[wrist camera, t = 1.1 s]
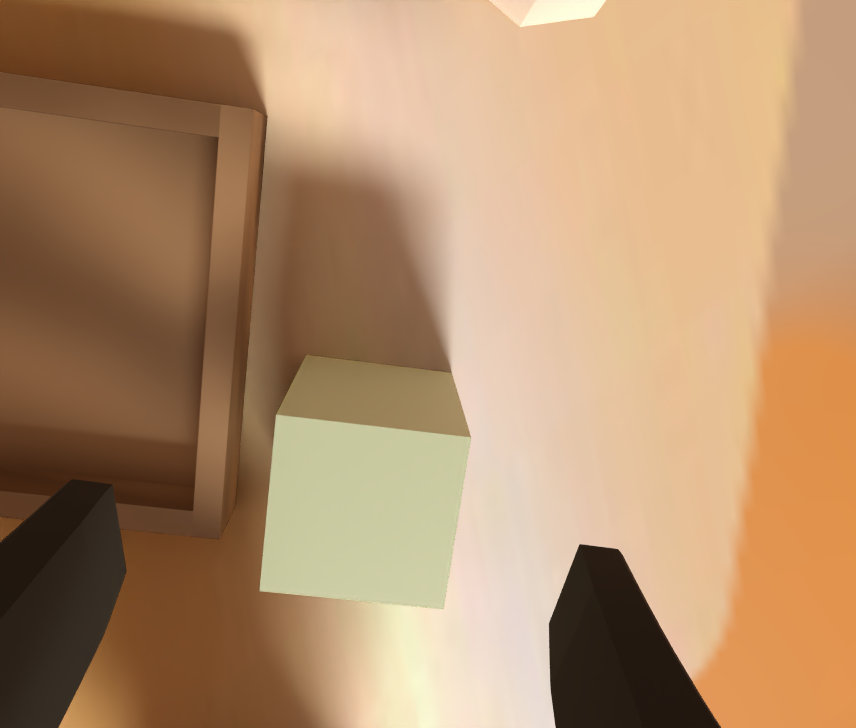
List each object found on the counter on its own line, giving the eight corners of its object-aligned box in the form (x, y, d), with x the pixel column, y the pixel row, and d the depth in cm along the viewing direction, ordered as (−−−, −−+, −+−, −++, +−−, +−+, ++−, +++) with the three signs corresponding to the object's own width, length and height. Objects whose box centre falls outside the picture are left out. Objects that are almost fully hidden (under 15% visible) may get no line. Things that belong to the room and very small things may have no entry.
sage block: (431, 505, 24) (443, 609, 18) (292, 490, 24) (259, 591, 18) (451, 372, 23) (470, 437, 17) (306, 354, 23) (275, 414, 17)
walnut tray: (234, 506, 24) (219, 539, 22) (-125, 468, 23) (-179, 498, 21) (267, 116, 21) (253, 108, 19) (-142, 56, 20) (-206, 41, 18)
